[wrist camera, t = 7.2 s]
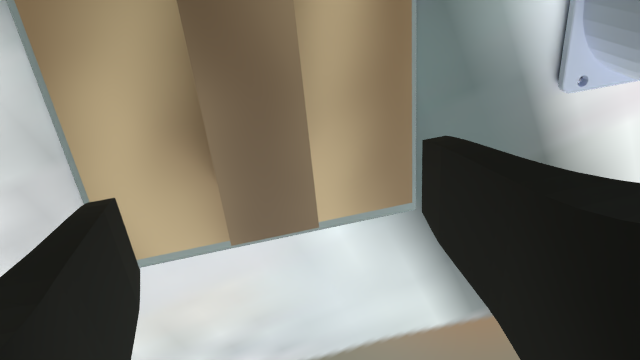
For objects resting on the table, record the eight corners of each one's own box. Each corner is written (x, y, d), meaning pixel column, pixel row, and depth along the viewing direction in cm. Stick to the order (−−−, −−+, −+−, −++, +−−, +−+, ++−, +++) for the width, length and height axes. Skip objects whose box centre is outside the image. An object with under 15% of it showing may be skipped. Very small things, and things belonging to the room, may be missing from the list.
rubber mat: (409, -138, 17) (416, -140, 17) (411, 203, 24) (415, 209, 24) (-24, -96, 15) (-31, -97, 15) (112, 265, 22) (110, 273, 21)
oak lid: (402, -137, 17) (472, -154, 13) (405, 194, 23) (452, 254, 19) (-13, -97, 15) (-92, -102, 11) (116, 253, 21) (97, 336, 17)
